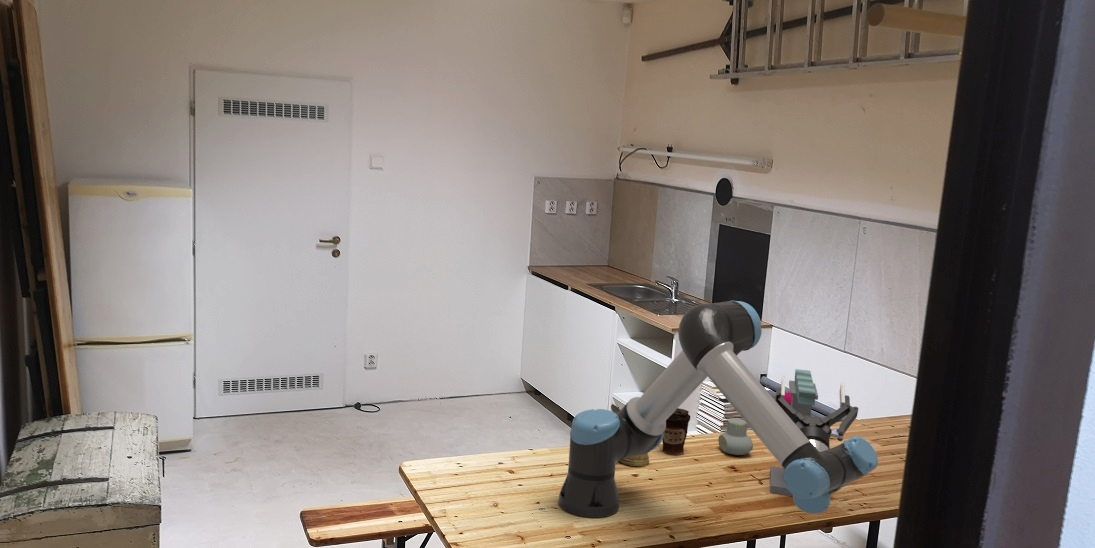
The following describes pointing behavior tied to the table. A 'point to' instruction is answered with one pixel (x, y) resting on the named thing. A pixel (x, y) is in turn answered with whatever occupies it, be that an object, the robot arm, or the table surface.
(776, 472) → the stand
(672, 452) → the coffee cup
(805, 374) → the block
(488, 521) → the table surface
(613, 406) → the wooden mug
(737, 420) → the air freshener
